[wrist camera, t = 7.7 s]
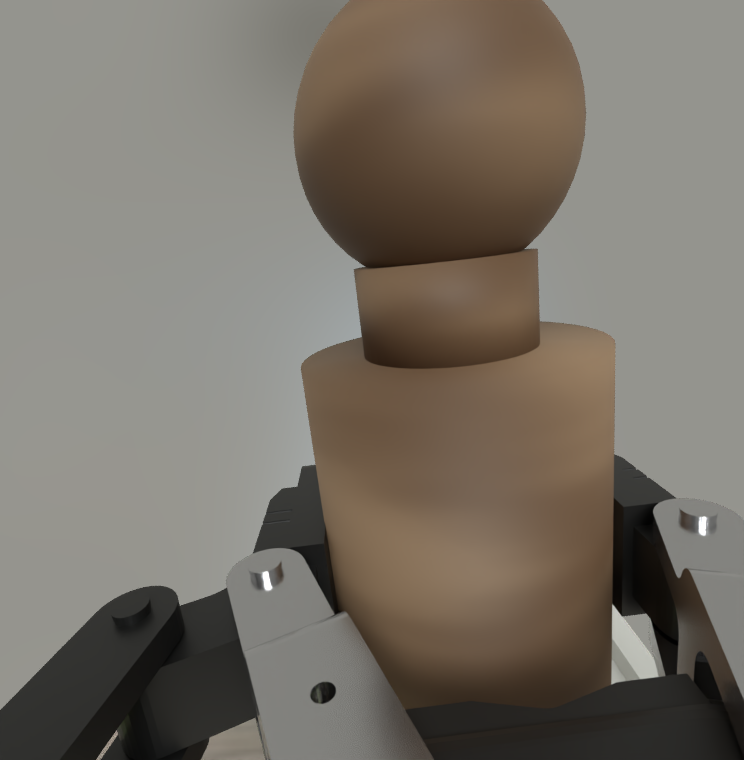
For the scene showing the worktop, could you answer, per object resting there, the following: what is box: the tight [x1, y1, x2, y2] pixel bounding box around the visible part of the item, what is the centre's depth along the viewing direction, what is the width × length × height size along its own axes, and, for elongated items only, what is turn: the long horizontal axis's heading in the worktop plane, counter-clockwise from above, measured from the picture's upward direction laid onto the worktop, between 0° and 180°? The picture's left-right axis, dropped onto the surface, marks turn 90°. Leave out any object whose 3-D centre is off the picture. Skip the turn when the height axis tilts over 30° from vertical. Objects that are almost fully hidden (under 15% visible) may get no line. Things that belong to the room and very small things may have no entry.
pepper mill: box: [294, 0, 615, 709], centre depth 10 cm, size 5×5×22 cm
